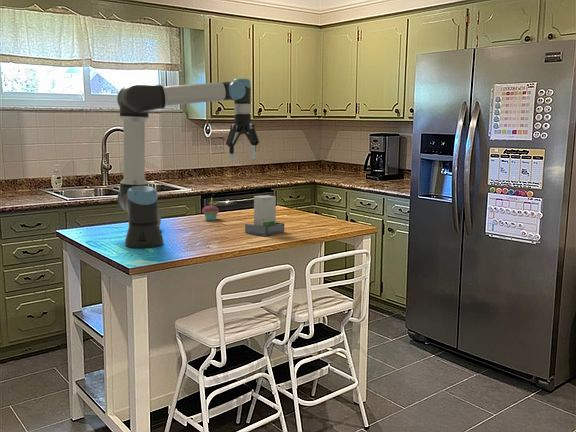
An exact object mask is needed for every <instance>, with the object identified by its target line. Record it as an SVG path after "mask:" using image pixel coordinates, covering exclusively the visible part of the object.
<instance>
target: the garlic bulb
mask: <svg viewBox="0 0 576 432" xmlns="http://www.w3.org/2000/svg"><path fill="white" fill-rule="evenodd" d="M161 222H162V218H161V214H159V212H158V226H159V229H160V228H161V226H160V225H161Z"/></svg>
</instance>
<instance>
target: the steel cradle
mask: <svg viewBox="0 0 576 432" xmlns="http://www.w3.org/2000/svg"><path fill="white" fill-rule="evenodd" d="M244 232H245V234H249V235H256V236H262V237H270V236H273V235H277V234H281V233H284V232H285V223H284V222H279V221H278V222H277V221H276V225H273V226H269V227H263V226H257V225H254V224H249V223H245V224H244Z"/></svg>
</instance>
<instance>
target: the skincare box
mask: <svg viewBox="0 0 576 432" xmlns="http://www.w3.org/2000/svg"><path fill="white" fill-rule="evenodd" d="M276 198H277V197H276V195H275V196H274V195H268V194H266V195H255V196H253V225H257V226H263V227H269V226H273V225H276V222H277V221H276V220H277V219H276V217H277V215H276V214H277V210H276V209H277V207H276V206H277V204H276V203H277V199H276Z"/></svg>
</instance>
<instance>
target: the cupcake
mask: <svg viewBox="0 0 576 432" xmlns="http://www.w3.org/2000/svg"><path fill="white" fill-rule="evenodd" d="M219 210H220V209H219V208H218V207H217V206H216V205H213V197H211V198H210V205H206V206H204V207H203V208H202V210H201V213H202V214H203V215H204V217H205V220H206V221H216V219H217V216H218V215H219V213H220V211H219Z"/></svg>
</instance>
